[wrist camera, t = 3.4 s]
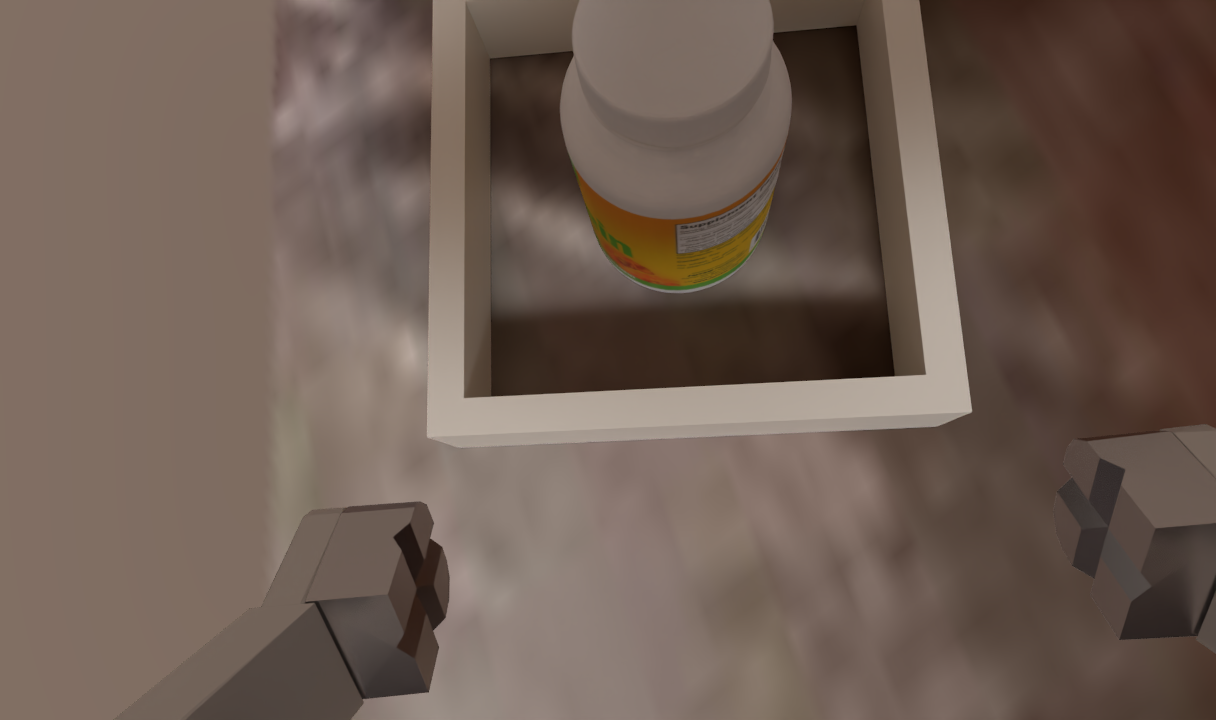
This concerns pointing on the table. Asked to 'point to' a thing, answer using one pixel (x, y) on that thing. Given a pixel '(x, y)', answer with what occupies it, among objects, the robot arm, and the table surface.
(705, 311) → the table surface
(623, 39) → the supplement bottle
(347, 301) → the table surface
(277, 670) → the robot arm
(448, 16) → the bin
